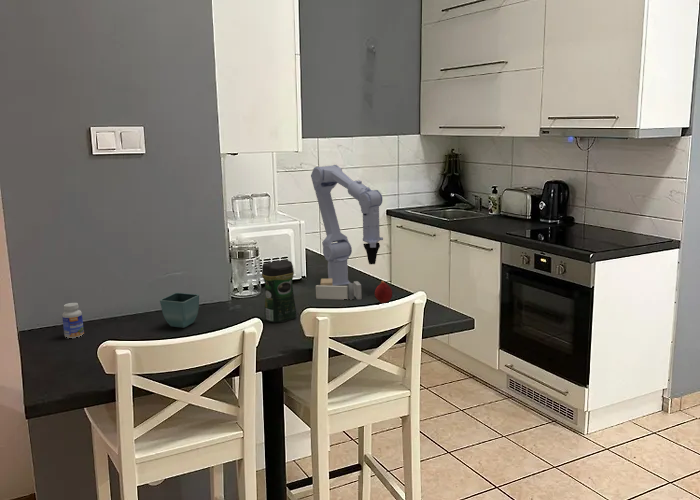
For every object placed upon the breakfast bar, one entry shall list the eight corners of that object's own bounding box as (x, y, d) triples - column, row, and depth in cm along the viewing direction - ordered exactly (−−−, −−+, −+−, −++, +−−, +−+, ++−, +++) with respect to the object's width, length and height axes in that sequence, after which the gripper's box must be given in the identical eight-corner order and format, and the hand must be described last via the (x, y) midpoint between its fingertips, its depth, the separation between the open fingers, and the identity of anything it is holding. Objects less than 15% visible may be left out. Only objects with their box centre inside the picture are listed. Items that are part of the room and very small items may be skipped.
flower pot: (186, 330, 197) (183, 302, 195) (161, 328, 200) (158, 300, 198) (202, 322, 205) (200, 294, 203) (178, 319, 208) (175, 292, 206)
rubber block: (321, 293, 234) (321, 278, 232) (332, 293, 234) (332, 278, 232) (321, 298, 228) (320, 282, 227) (332, 298, 228) (332, 282, 227)
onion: (392, 301, 221) (392, 278, 219) (392, 306, 215) (391, 282, 213) (375, 301, 221) (374, 278, 220) (374, 306, 216) (373, 283, 214)
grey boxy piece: (361, 299, 225) (361, 283, 224) (349, 300, 224) (348, 284, 223) (358, 295, 230) (357, 279, 229) (346, 296, 229) (345, 280, 228)
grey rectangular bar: (348, 298, 227) (348, 285, 226) (347, 299, 225) (347, 286, 224) (317, 297, 229) (317, 284, 228) (316, 298, 227) (315, 286, 226)
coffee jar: (287, 313, 211) (284, 256, 208) (300, 318, 205) (297, 260, 201) (260, 319, 206) (257, 261, 202) (273, 325, 199) (270, 265, 196)
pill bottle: (72, 340, 191) (68, 308, 189) (60, 337, 194) (56, 305, 192) (88, 334, 196) (84, 303, 194) (76, 331, 199) (73, 300, 197)
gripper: (384, 228, 221) (385, 268, 223) (380, 221, 235) (381, 259, 238) (363, 229, 220) (364, 268, 223) (361, 222, 235) (362, 259, 237)
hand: (372, 263), depth 230 cm, fingers closed
